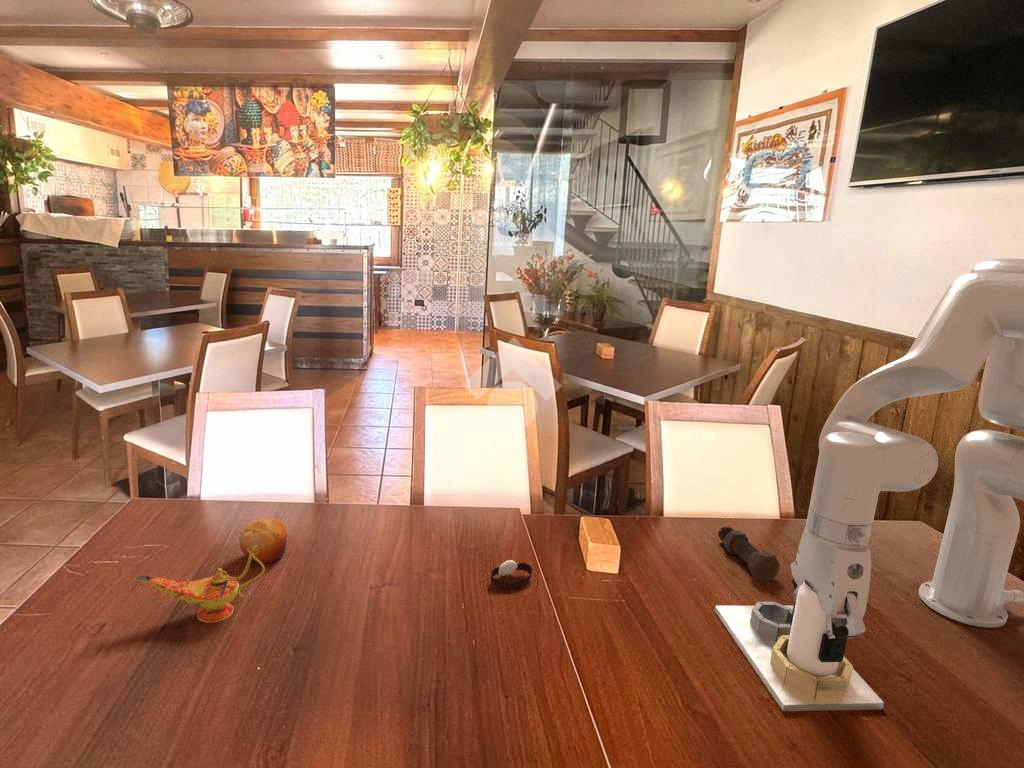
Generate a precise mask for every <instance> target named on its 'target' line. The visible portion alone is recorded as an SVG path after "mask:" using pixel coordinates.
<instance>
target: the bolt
mask: <svg viewBox="0 0 1024 768" xmlns="http://www.w3.org/2000/svg"><path fill="white" fill-rule="evenodd" d="M717 536H718V538H719V540H721V542H723V546H724V548H725V549H726V551H727V552H728V553H729V554H731V555H737V556H738V557H739V558H741V559H742V560H743V561H744V562H745V564H748V565H747V568H748V570H749V571H750V572H749V573H750V574H751V576H752V578H753V579H754V580H755V581H759V582H767V581H771V580H774V578H775V577H776V576H777V574H778V573H779V571H780V568H781V567H780V566H781V565H780V562H779V559H778V558H777V556H776V555H775V554H774V553H773V552H772V551H766V552H765V551H762V552H761V551H759V550H758V549H757V548H756V547H755V546H754V545H752V544H751V543H750V541H749V538H748V537H747V534H746V533H745V532H744V531H742V530H735V529H733V528H731V527H730V526H729V527H728V526H723V527H720V530H719V531H718V534H717Z"/></svg>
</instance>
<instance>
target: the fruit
mask: <svg viewBox="0 0 1024 768" xmlns="http://www.w3.org/2000/svg"><path fill="white" fill-rule="evenodd" d="M287 541H288V532H287V530H286V527H285V524H284V523H283V521H281V520H278V519H277V518H273V517H261V518H259V519H256V520H255V521H252V522H250V524H248V525H246V526H245V528H244V529H243V530H242V531H241V532H240V536H239V541H238V542H239V543H238V544H239V548H240V551H241V552H242V554H244V556H245V557H247V558H248V557H249V554H250V553H249V552H248V550H247V549H248V548H249V547H254V546H256V545H257V547H256V548H257V549H258V554H255V555H254V556H255V557H256V558H257V559H258V560H260V561H261V562H262V563H264V564H268V563H269V564H270V563H273V562H274V561H276V560H278V559H280V558H281V557H282V556H283V555H284V554H286V549H287ZM252 549H253V548H249V551H250V552H251V551H252ZM253 553H257V550H256V549H255V550H254V552H253ZM249 558H251V557H249ZM251 561H253V562H257V561H256V560H255V559H254V558H252V559H251Z"/></svg>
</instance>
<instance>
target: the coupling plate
mask: <svg viewBox="0 0 1024 768" xmlns="http://www.w3.org/2000/svg"><path fill="white" fill-rule="evenodd" d="M714 606H715V607H714V612H715V614H716V615H717V617H718V619H719V620H720V621H721V623H722V624H723V626H724V627H725V628H726V630H727V632H728V633H729V635H730V636H731V637H732V639H733V641H734V642H735V644H736V645H737V647H738V648H739V649H740V651H741V652H742V654H743V655H744V656H745V658H746V660H747V661H748V662H749V664H750V665H751V667H752V669H753V670H754V671H755V673H756V674H757V676H758V677H759V679H760V681H761V682H762V683H763V684H764V686H765V688H766V690H767V691H768V692H769V693H770V695H771V696H772V698H773V699H774V701H775V702H776V703H777V705H778V707H779V709H781V711H782V712H812V711H813V712H814V711H816V712H817V711H820V712H821V711H822V712H823V711H859V710H862V711H863V710H883V709H884V705H885V701H883V700H882V699H881V698H880V697H879V695H878V694H877V693H876V692H875V691H874V690H873V689H872V688H871V687H870V685H869V684H867V682H866V681H865V680H864V678H863V677H861V675H860V674H859V673H858V672H857V671H856V670H855V669H854V666H853V664H852V663H851V662H850V661H849V659H847V657H845V656H844V657H843V660H842V661H841V662H839V663H838V668H837V671H836V672H835V673H834V674H832V675H829V676H824V677H821V676H814V675H811V674H809V673H807V672H805V671H803V670H800V669H798V668H797V667H796V666H795V665H794V664H793V663H792V662H791V661H790V659H789V657H788V655H787V649H788V643H789V637H790V632H791V626H790V623H791V617H792V612H793V606H794V605H783V604H781V603H778V602H775V601H757V602H756V603H755V605H714Z"/></svg>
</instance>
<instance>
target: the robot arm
mask: <svg viewBox="0 0 1024 768" xmlns="http://www.w3.org/2000/svg"><path fill="white" fill-rule="evenodd" d="M984 364H985V366H984V370H983V375H982V380H981V384H980V390H979V395H978V396H979V397H978V403H977V404H978V405H977V407H978V412H979V414H980V416H981V417H982V418H983V419H985V420H986V421H987V422H990V423H992V424H996V425H998V426H1002V427H1005V428H1008V429H1013V430H1015V431H1016V430H1017V431H1020V432H1024V258H995V259H994V258H992V259H987V260H984V261H982V262H981V261H980V262H978V263H977V264H976V265H974V266H973V268H972V269H971V271H970V272H969V273H965V274H962V275H961V276H959V277H957V278H955V279H954V280H953V281H952V282H951V283H950V284H949V286H948V287H947V288H946V290H945V292H944V293H943V295H942V296H941V298H940V299H939V301H938V302H937V305H936V306H935V307H934V309H933V311H932V313H931V314H930V316H929V317H928V319H927V321H926V322H925V324H924V325H923V327H922V329H921V331H920V332H919V333H918V335H917V337H916V338H915V340H914V341H913V343H912V345H911V346H910V349H908V351H907V353H906V354H904V356H902V357H900V358H899V359H897V360H894V361H892V362H889V363H887V364H885V365H882V366H881V367H879V368H877V369H875V370H873V371H872V372H870V373H868V374H867V375H865V376H863V377H862V378H860V379H859V380H858V381H856V382H854V383H853V384H852V385H851V386H849V388H848V389H847V390H846V391H845V392H844V393H843V394H842V395H841V397H840V398H839V399H838V401H837V403H836V405H835V406H834V407H833V410H832V411H831V413H830V414H829V416H828V417H827V420H826V421H825V423H824V425H823V427H822V429H821V431H820V435H819V440H818V450H819V452H818V457H817V458H818V459H817V462H816V463H817V464H816V469H815V474H814V480H813V485H812V489H811V490H812V491H811V496H810V502H809V508H808V512H807V519H806V524H805V527H804V529H803V532H802V534H801V539H800V541H799V545H798V549H797V553H796V556H795V557H796V558H795V561H793V562H791V563H790V565H789V566H790V570H791V574H792V585H793V588H794V592H793V593H792V598H793V600H794V602H793V605H792V606H793V612H792V617H791V623H790V626H792V621H793V616H794V610H795V605H796V600H797V595H798V590H799V587H800V586H801V585H802V584H803V583H804V580H805V583H806V584H807V585H808V586H809V587H810V588H811V589H812V590H813V591H815V592H817V593H818V594H817V596H818V600H819V603H820V606H821V610H822V611H823V612H824V613H825V614H826V630H827V634H826V633H824V634H823V635H822V640H821V645H820V650H819V655H818V659H819V660H820V661H821V662H841V661H842V660H843V657H845V652H846V646H847V643H848V640H849V639H852V638H854V637H856V636H859V635H861V634H864V633H866V625H865V623H864V620H863V618H864V616H865V614H866V610H867V604H868V599H869V598H868V597H869V593H870V592H869V591H870V585H871V573H872V555H871V553H872V551H871V548H870V547H869V546H868V545H869V542H870V537H871V532H872V530H873V529H872V527H873V523H874V519H875V514H876V511H877V504H878V500H879V496H880V493H881V492H883V491H884V492H912V491H915V490H919V489H920V488H922V487H924V486H926V485H927V484H928V483H929V482H931V480H933V478H934V477H935V475H936V473H937V471H938V468H939V457H938V456H939V455H938V452H937V451H936V449H935V448H934V446H933V445H932V444H931V443H930V442H928V441H926V440H925V439H923V438H921V437H919V436H917V435H914V434H910V433H907V432H903V431H901V430H897V429H893V428H890V427H888V426H883V425H881V424H877V423H874V422H870V421H868V420H869V419H870V418H871V417H872V416H873V415H874V414H875V413H876V412H877V411H879V410H880V409H882V408H883V407H885V406H887V405H889V404H892V403H895V402H897V401H901V400H905V399H910V398H916V397H923V396H930V395H937V394H944V393H950V392H956V391H957V392H958V391H960V390H963V389H966V388H967V387H969V386H970V385H972V383H974V381H975V379H976V377H977V376H978V374H979V372H980V371H981V369H982V367H983V365H984ZM1014 499H1018V500H1021V501H1024V437H1022V436H1018V435H1015V434H1011V433H1008V432H1007V433H1006V432H1003V431H998V430H991V429H979V430H973V431H970V432H968V433H967V434H965V435H964V436H963V437H962V438H961V439H960V441H959V442H958V444H957V446H956V450H955V455H954V481H953V491H952V497H951V501H950V505H949V511H948V515H947V518H946V524H945V527H944V530H943V531H944V532H943V535H942V539H941V543H940V547H939V552H938V554H937V555H938V556H937V559H936V560H937V561H936V563H935V569H934V572H933V578H932V580H929V581H926V582H923V583H921V585H920V586H919V589H918V596H919V598H920V599H921V600H922V601H923V602H924V604H926V605H927V606H928V607H929V608H931V609H932V610H934V611H935V612H936V613H938V614H940V615H943V616H944V617H947V618H948V619H950V620H953V621H956V622H959V623H962V624H965V625H969V626H973V627H980V628H989V629H992V628H1000V627H1003V626H1004V625H1006V623H1007V621H1008V616H1009V615H1008V612H1007V610H1006V609H1005V608H1004V604H1008V603H1009V602H1012V603H1013V602H1017V603H1018V602H1019V603H1020V602H1024V592H1023V591H1022V590H1020V589H1008V590H1007V589H1005V586H1004V585H1005V582H1006V579H1007V575H1008V571H1009V568H1010V563H1011V560H1012V556H1013V553H1014V548H1015V545H1016V542H1017V538H1018V534H1019V531H1020V526H1021V517H1020V513H1019V509H1018V507H1017V505H1016V502H1015V500H1014ZM842 608H845V612H844V613H837V612H840V611H841V609H842ZM835 619H842V626H840V627H837V628H835Z"/></svg>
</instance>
